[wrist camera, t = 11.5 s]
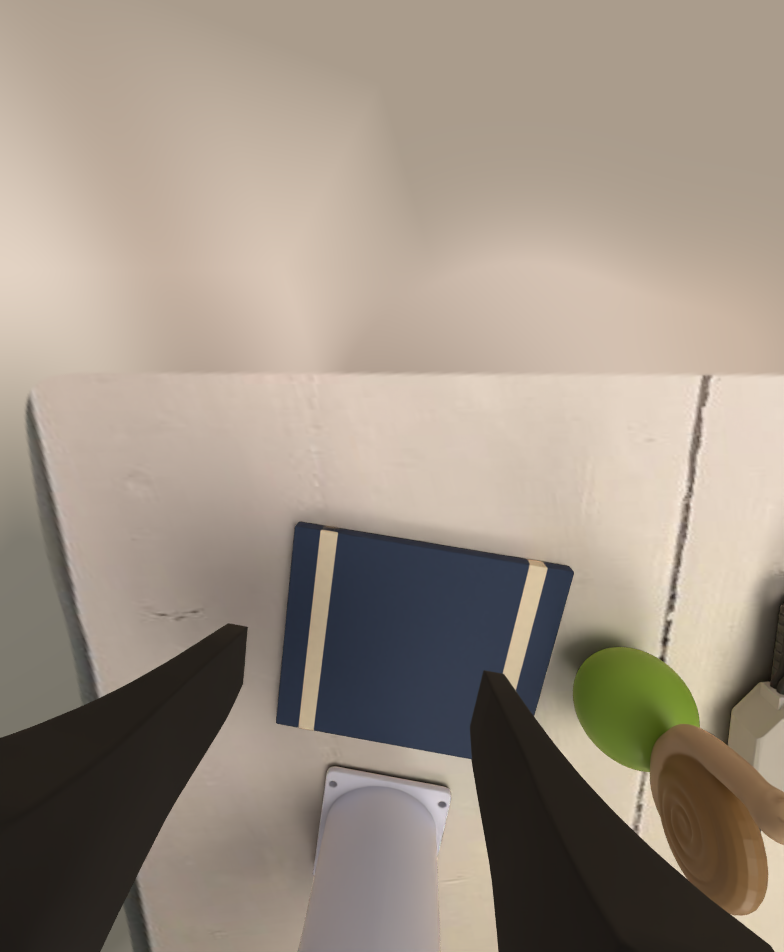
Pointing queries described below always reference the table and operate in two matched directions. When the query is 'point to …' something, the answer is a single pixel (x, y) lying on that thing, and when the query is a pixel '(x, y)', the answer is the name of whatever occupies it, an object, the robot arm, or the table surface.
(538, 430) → the table surface
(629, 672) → the snail figurine
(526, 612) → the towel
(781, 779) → the walkie-talkie
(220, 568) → the table surface
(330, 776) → the robot arm
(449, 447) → the table surface
